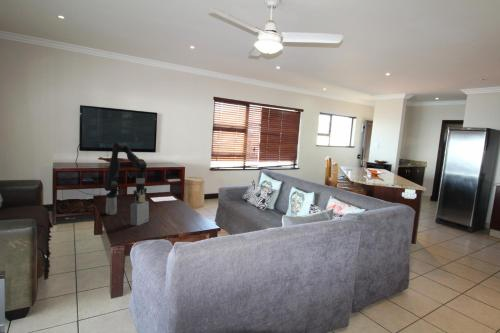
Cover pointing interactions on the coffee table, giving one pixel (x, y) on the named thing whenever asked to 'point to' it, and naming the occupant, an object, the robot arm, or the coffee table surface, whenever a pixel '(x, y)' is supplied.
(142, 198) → the maple cube
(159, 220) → the coffee table surface
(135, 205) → the hard drive box
